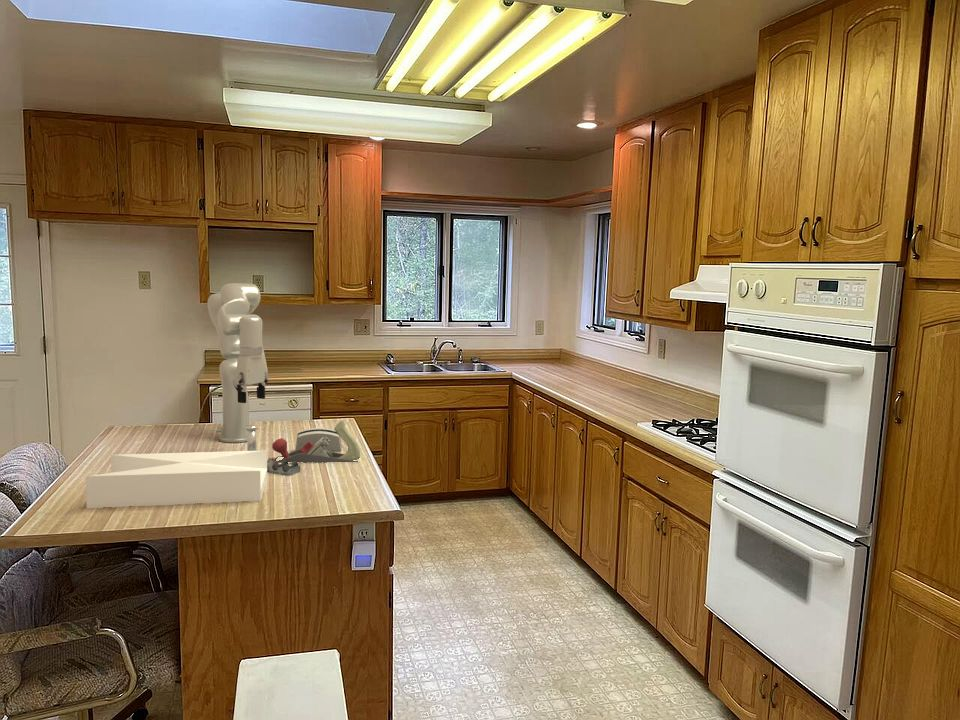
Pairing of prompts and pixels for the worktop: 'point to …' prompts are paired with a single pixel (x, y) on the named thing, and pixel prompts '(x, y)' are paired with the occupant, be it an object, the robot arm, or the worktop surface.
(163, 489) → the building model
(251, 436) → the pin
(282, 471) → the knobbed grey strip
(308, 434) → the beige arched grooved block
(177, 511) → the worktop surface
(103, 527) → the worktop surface
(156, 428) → the worktop surface
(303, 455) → the hand plane
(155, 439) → the worktop surface
